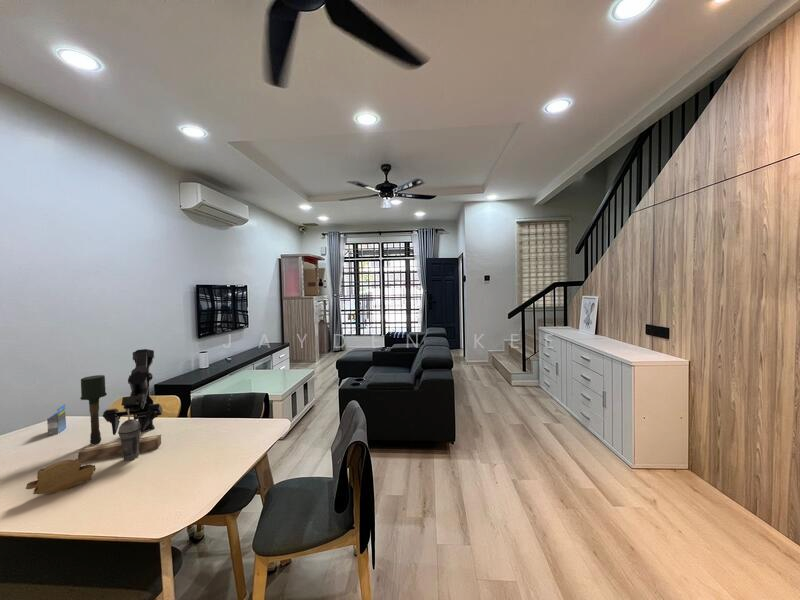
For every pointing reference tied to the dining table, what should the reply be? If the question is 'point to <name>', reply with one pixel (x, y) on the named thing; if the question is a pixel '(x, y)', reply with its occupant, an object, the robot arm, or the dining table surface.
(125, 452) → the beverage cup
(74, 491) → the dining table surface
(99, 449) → the slotted wooden bar
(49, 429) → the label tape cartridge
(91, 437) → the stick grenade
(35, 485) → the wooden carving
